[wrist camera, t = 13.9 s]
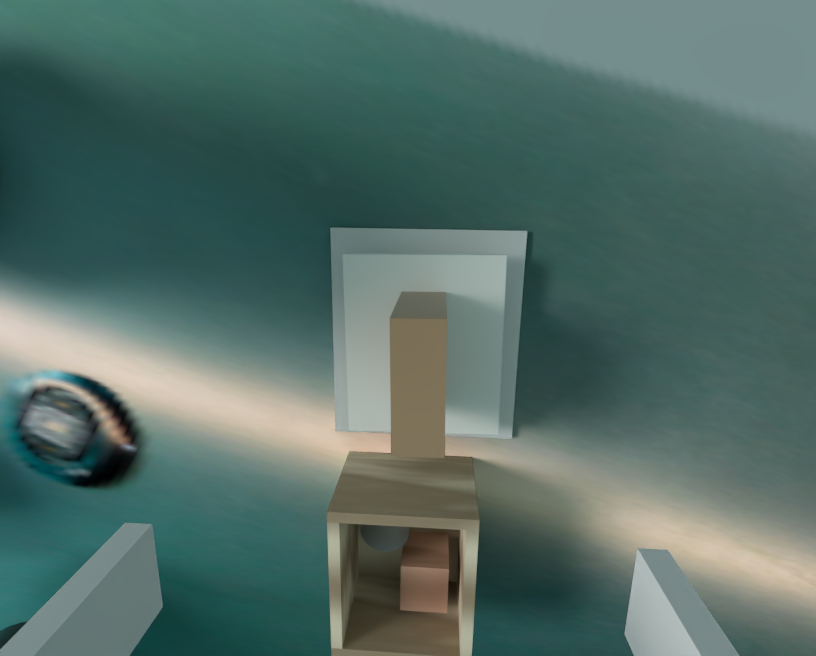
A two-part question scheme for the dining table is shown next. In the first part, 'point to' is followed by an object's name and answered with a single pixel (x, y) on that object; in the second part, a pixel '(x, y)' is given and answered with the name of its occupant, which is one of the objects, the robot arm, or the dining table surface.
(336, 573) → the crate
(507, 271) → the tray
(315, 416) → the dining table surface
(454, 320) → the lid
